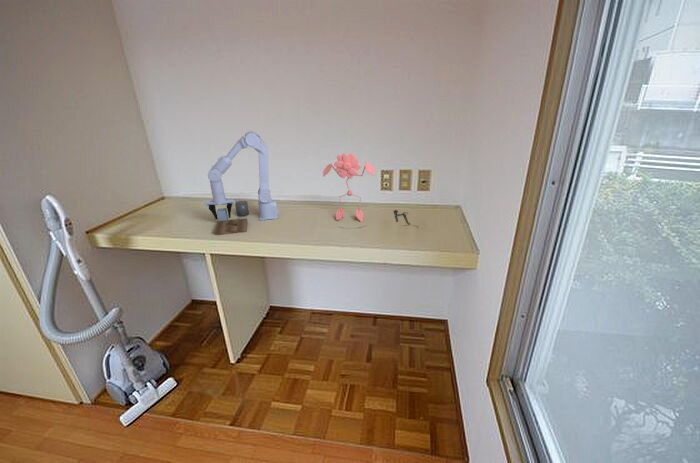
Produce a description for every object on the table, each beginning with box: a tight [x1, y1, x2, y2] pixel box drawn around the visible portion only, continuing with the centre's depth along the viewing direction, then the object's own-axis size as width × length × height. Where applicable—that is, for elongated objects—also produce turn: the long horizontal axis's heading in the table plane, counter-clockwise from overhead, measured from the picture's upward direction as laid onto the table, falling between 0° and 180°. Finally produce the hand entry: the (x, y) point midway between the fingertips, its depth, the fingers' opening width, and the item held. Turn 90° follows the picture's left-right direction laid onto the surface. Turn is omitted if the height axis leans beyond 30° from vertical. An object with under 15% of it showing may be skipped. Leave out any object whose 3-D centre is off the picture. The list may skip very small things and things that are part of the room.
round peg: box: [234, 200, 250, 218], centre depth 175 cm, size 6×6×7 cm
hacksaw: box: [393, 209, 419, 228], centre depth 165 cm, size 24×10×2 cm, turn 177°
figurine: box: [322, 152, 376, 229], centre depth 155 cm, size 15×26×35 cm, turn 78°
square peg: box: [216, 207, 229, 221], centre depth 165 cm, size 4×4×7 cm
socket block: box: [214, 217, 249, 236], centre depth 158 cm, size 14×12×2 cm
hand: (223, 218), depth 166 cm, fingers open, 6 cm apart
